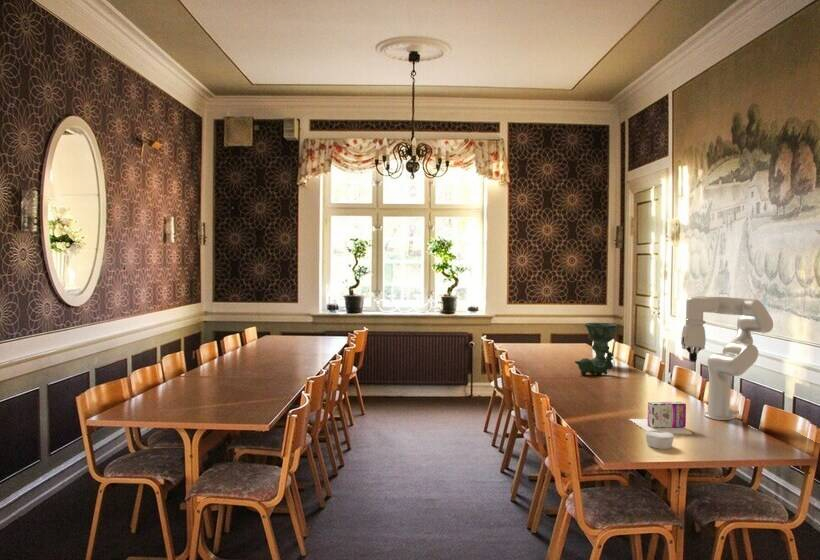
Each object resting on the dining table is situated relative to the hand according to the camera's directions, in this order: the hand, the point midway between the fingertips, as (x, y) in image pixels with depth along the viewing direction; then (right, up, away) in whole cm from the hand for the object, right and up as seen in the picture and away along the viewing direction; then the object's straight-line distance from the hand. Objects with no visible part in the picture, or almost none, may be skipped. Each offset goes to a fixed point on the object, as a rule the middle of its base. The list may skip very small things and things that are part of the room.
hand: (692, 361), depth 306 cm
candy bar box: (-9, -23, -10) cm, 27 cm away
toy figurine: (-14, -24, +117) cm, 120 cm away
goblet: (+1, -23, +152) cm, 154 cm away
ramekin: (-31, -31, -39) cm, 59 cm away
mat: (-20, -29, -10) cm, 37 cm away
